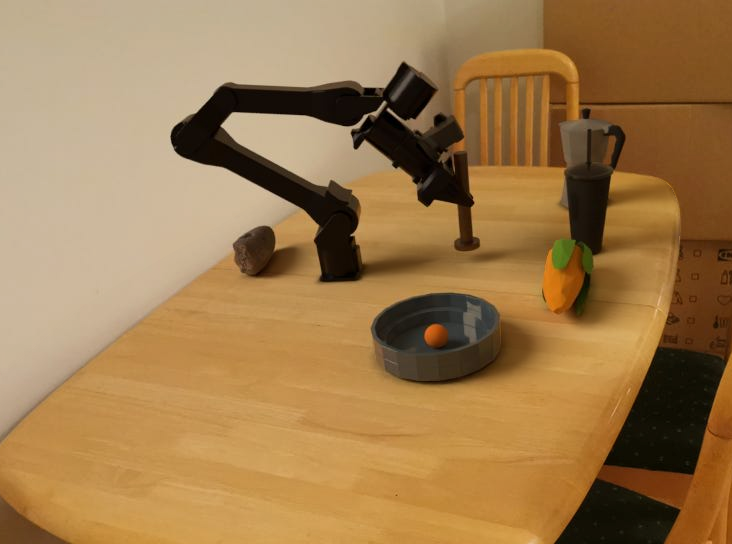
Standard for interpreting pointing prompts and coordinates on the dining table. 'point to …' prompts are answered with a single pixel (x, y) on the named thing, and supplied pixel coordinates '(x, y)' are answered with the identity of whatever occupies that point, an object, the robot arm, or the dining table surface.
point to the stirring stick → (464, 213)
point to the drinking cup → (588, 199)
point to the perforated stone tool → (254, 249)
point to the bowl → (454, 359)
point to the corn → (567, 275)
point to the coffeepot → (577, 142)
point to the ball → (436, 336)
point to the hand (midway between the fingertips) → (472, 202)
